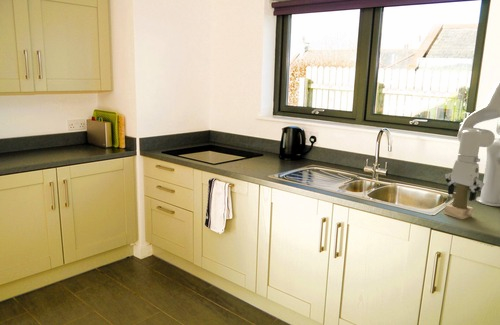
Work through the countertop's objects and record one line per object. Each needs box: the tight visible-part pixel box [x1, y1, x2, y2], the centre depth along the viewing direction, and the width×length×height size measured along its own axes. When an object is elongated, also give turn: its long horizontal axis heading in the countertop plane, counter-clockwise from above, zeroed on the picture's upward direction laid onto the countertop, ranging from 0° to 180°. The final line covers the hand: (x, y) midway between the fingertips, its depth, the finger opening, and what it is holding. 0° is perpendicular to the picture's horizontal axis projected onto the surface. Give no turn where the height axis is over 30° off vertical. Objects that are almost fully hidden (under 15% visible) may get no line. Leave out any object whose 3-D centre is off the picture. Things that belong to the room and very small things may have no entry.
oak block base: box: [443, 203, 474, 220], centre depth 186 cm, size 8×8×4 cm
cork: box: [451, 183, 470, 209], centre depth 184 cm, size 6×6×11 cm
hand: (460, 197), depth 185 cm, fingers open, 9 cm apart
